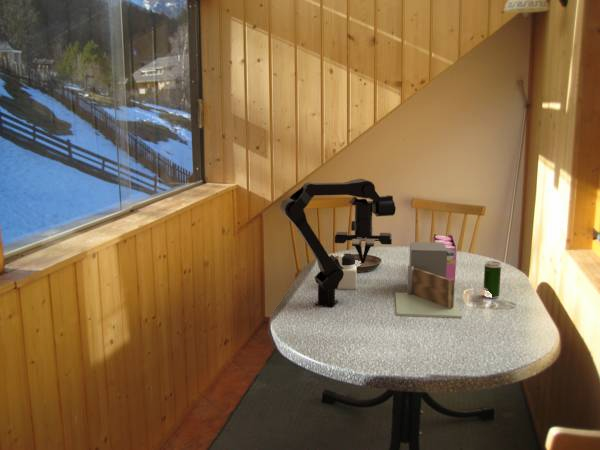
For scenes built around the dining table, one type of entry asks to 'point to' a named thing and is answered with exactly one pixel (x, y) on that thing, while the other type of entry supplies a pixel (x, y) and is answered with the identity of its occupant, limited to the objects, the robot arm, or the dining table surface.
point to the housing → (429, 260)
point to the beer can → (492, 278)
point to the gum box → (448, 254)
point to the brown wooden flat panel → (433, 287)
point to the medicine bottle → (348, 271)
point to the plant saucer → (367, 263)
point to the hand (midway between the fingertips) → (362, 263)
